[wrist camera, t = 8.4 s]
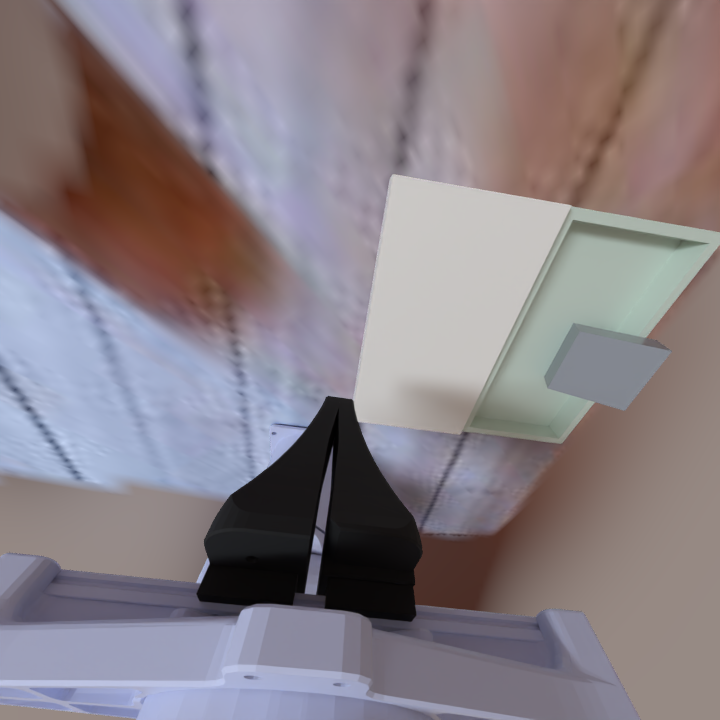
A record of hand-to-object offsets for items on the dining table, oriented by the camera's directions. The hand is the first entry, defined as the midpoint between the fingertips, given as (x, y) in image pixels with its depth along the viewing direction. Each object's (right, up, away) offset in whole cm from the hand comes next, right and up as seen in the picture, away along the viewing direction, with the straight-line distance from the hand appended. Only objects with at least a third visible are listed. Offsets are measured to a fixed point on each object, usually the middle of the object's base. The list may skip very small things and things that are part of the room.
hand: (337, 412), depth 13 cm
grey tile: (+19, +2, +5) cm, 20 cm away
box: (+17, +4, +8) cm, 19 cm away
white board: (+7, +5, +7) cm, 11 cm away
